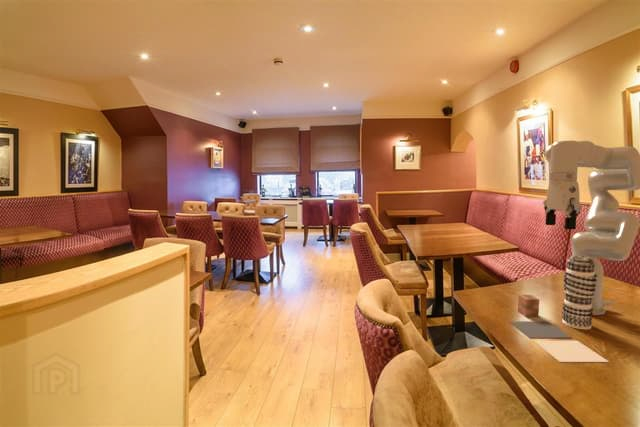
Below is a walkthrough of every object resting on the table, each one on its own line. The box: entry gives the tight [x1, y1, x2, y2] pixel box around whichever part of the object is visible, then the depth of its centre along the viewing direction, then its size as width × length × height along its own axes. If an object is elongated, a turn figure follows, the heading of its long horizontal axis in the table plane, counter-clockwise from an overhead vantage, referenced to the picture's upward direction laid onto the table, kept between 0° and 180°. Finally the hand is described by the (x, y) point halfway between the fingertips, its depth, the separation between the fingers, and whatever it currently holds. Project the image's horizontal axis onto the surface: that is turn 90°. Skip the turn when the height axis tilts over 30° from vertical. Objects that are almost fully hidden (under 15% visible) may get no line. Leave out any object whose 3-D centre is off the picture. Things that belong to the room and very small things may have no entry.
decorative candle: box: [561, 256, 597, 330], centre depth 114 cm, size 9×9×25 cm
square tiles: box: [509, 320, 610, 363], centre depth 105 cm, size 14×26×1 cm, turn 178°
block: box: [517, 294, 540, 318], centre depth 124 cm, size 5×5×7 cm
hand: (559, 227), depth 110 cm, fingers open, 9 cm apart
